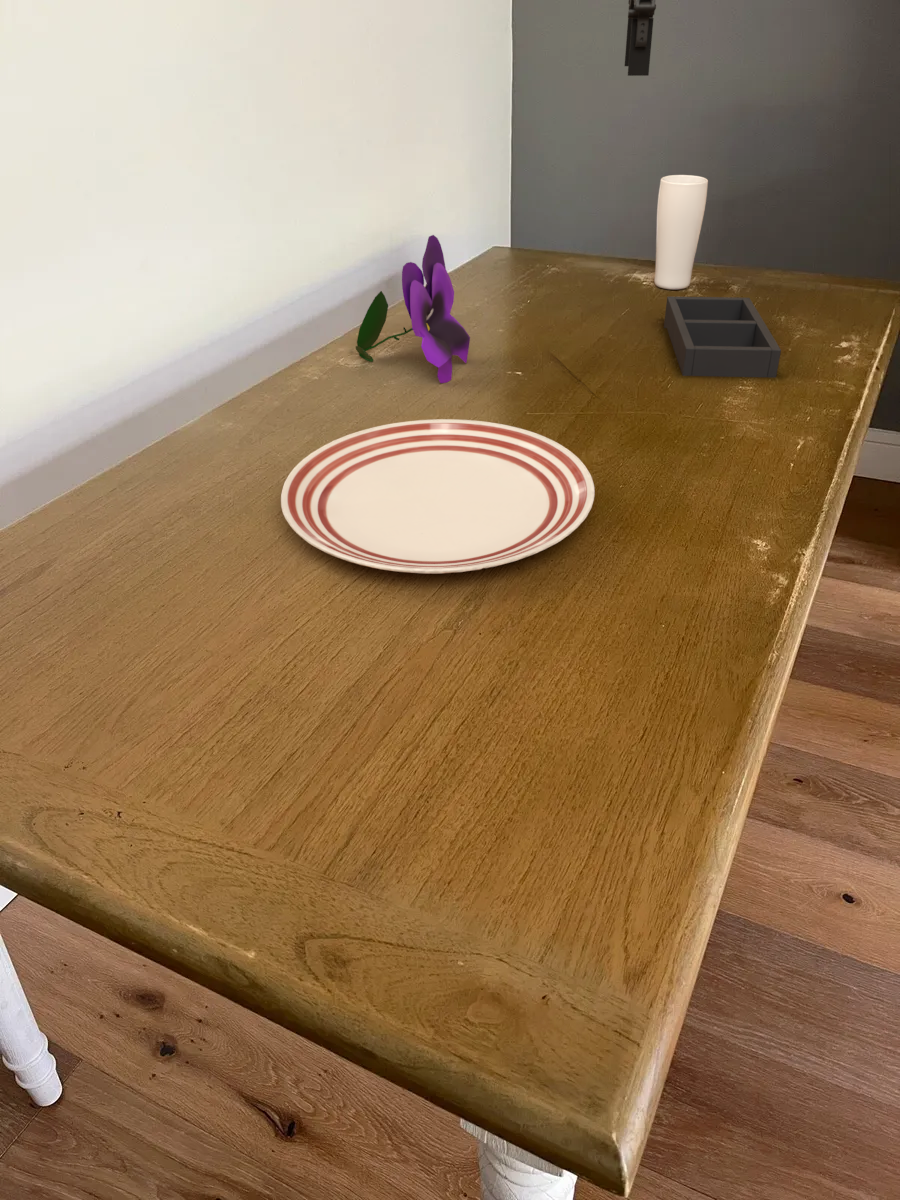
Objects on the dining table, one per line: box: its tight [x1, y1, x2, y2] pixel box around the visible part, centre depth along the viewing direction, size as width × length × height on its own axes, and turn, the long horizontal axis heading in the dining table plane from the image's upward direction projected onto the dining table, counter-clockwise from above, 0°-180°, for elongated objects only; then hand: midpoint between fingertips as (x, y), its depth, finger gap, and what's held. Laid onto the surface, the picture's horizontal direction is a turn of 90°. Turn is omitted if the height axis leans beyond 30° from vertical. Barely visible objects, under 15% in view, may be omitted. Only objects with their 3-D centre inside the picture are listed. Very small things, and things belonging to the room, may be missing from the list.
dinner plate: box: [280, 418, 596, 574], centre depth 85 cm, size 28×27×3 cm
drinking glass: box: [653, 174, 709, 291], centre depth 140 cm, size 7×7×15 cm
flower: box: [355, 234, 471, 384], centre depth 114 cm, size 15×15×14 cm
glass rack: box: [663, 296, 782, 378], centre depth 117 cm, size 10×20×5 cm, turn 175°
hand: (635, 70), depth 133 cm, fingers open, 13 cm apart
